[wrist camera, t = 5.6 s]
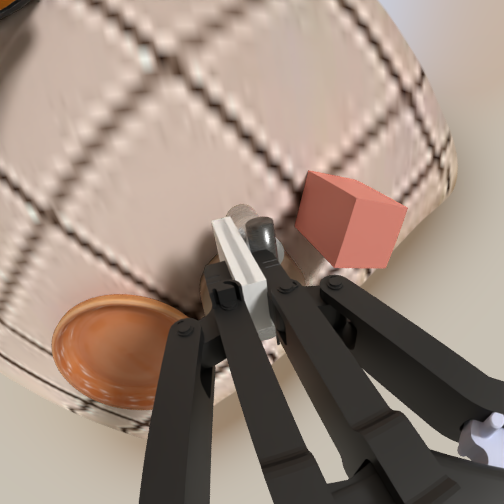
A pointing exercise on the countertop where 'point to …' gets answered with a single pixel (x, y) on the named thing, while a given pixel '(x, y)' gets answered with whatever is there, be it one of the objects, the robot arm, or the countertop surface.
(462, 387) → the robot arm
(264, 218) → the crank
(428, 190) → the countertop surface
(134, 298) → the saucer
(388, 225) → the block
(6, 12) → the canister
